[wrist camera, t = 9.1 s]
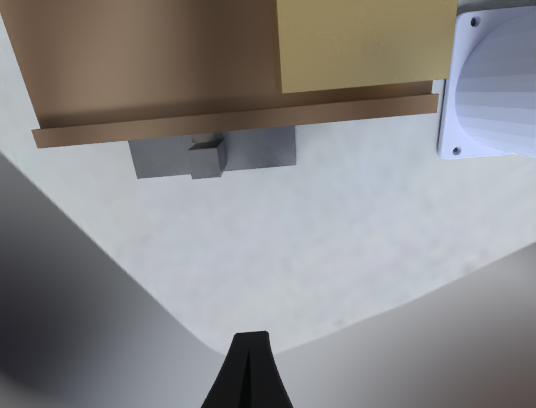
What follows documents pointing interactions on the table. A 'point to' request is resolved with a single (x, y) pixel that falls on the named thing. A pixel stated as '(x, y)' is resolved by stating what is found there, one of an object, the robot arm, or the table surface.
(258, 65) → the beam
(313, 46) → the rider
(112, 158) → the table surface
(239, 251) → the table surface
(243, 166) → the beam stand
